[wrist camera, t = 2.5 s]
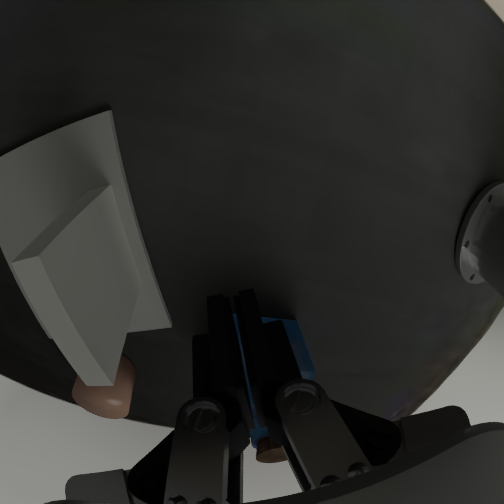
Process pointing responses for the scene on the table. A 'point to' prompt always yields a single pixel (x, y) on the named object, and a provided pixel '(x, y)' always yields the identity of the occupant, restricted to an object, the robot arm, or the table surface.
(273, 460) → the perfume bottle
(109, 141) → the mat
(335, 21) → the table surface
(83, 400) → the brown rounded cylinder
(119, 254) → the tile
